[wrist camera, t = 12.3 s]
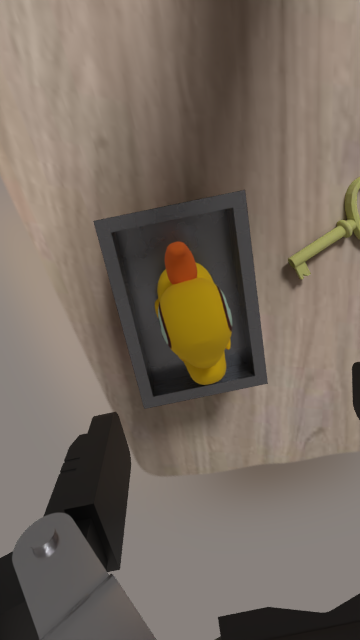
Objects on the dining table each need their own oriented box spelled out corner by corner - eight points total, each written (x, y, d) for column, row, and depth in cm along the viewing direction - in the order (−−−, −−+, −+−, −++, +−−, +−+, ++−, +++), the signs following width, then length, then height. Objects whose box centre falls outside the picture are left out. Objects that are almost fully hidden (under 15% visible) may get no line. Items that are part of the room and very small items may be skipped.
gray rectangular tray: (221, 195, 32) (244, 189, 23) (241, 343, 37) (267, 383, 28) (110, 217, 32) (93, 221, 23) (147, 362, 37) (144, 408, 28)
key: (278, 261, 35) (285, 265, 33) (365, 164, 32) (379, 161, 30) (322, 302, 36) (332, 307, 34) (407, 213, 34) (423, 213, 32)
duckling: (136, 241, 26) (125, 260, 17) (201, 223, 26) (226, 231, 17) (174, 363, 30) (182, 434, 20) (230, 348, 30) (265, 412, 20)
